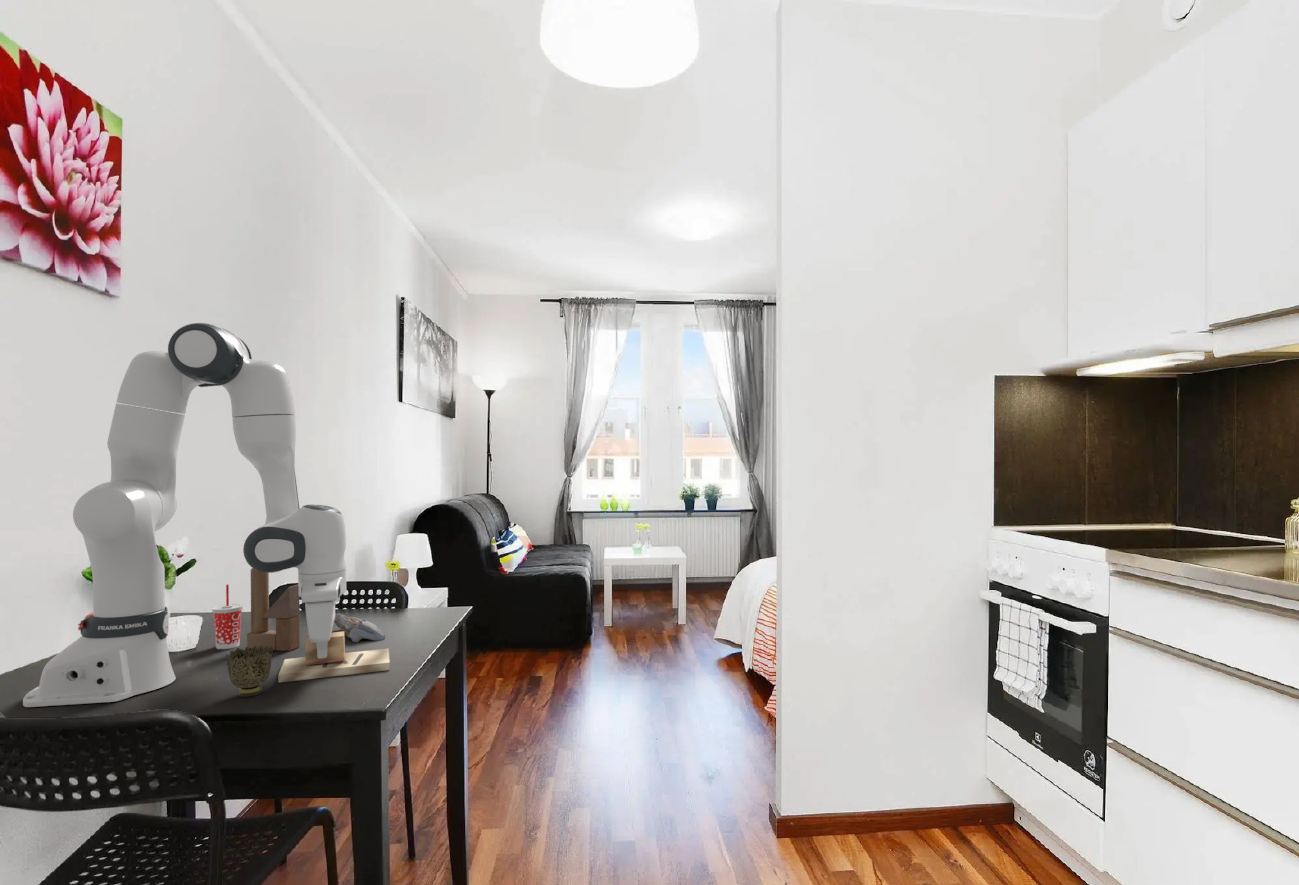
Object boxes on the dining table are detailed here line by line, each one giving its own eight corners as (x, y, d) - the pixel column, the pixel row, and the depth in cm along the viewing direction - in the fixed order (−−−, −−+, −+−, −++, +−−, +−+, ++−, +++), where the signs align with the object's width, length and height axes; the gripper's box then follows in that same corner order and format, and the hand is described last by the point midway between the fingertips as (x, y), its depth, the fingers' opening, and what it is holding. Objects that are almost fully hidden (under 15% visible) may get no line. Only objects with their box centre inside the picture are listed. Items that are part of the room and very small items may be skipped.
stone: (393, 629, 170) (350, 622, 165) (386, 650, 169) (343, 643, 164) (372, 615, 184) (332, 607, 178) (366, 634, 183) (326, 627, 177)
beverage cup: (220, 651, 160) (220, 588, 160) (206, 647, 164) (206, 585, 164) (248, 645, 165) (248, 583, 165) (234, 641, 169) (234, 581, 169)
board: (278, 682, 138) (278, 674, 138) (285, 666, 148) (285, 659, 148) (389, 669, 145) (389, 662, 145) (388, 655, 156) (388, 648, 156)
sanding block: (305, 665, 143) (305, 639, 143) (307, 659, 147) (306, 635, 147) (344, 660, 146) (343, 635, 146) (344, 655, 149) (344, 631, 149)
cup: (239, 688, 135) (238, 645, 135) (280, 686, 136) (279, 644, 136) (218, 702, 128) (217, 656, 128) (261, 700, 128) (261, 655, 128)
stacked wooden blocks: (289, 651, 160) (289, 569, 160) (246, 649, 162) (245, 569, 162) (300, 646, 163) (299, 567, 163) (258, 645, 165) (257, 566, 165)
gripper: (309, 577, 155) (310, 642, 155) (300, 595, 136) (301, 669, 135) (341, 575, 157) (342, 639, 157) (337, 592, 138) (338, 665, 138)
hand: (323, 653), depth 146 cm, fingers closed on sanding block, 4 cm apart
